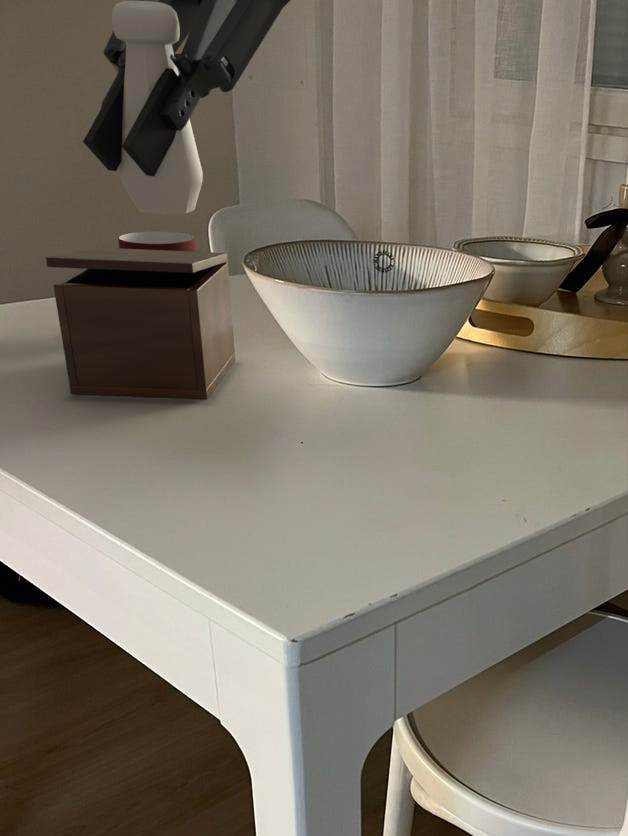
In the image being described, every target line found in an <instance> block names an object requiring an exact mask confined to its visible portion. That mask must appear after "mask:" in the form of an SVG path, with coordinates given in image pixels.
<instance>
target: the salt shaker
mask: <svg viewBox="0 0 628 836" xmlns="http://www.w3.org/2000/svg"><path fill="white" fill-rule="evenodd" d="M111 15H112V16H111V22H112V23H111V24H112V29H113V30H114V33H115V36H116V38H118V39H120V40H122V41H124V42H126V62H125V79H124V95H123V117H122V145H123V143H124V141H125V139H126V137H127V136H128V134H129V132H130V130H131V128H132V126H133V125H134V123H135V121H136V119H137V117H138V115H139V114H140V112H141V110H142V108H143V106H144V104H145V103H146V101H147V99H148V97H149V95H150V93H151V92H152V90H153V88H154V86H155V84H156V82H157V81H158V79H159V78H160V76H161V74H162V73H163V72H164V70H165V69H166V68H171V69H173V70H174V71H175V73H176V74H177V75H179V74H180V72H179V70H178V69H177V67H176V66H175V65H174V63H173V62H172V60H171V58H170V55H171V54H172V55H173V56H174V52H173V48H172V44H174V43H176V42H177V41H179V37H180V29H179V21H178V17H177V13H176V12H175V10H174V9H173V8H172V7H171V6H169V5H167V4H164V3H160V2H152V1H132V0H131V1H128V0H123V1H120V2H117V3H116V4H115V5H114V7H112V12H111ZM174 58H175V57H174ZM175 59H176V58H175ZM191 123H192V122H191V117H189V121H188V122H187V124H186V126H185V127H184V128H183V129H182V130H181V131H178V130H177V132H176V135H175V138H174V141H173V143H172V144H171V146H170V148H169V150H168V152H167V154H166V156H165V157H164V159H163V161H162V163H161V165H160V167H159V169H158V171H157V172H156V174H155V176H146V175H145V173H144V172H143V171H142V170H141V169H140V167H139V166H138V165H137V164H136V163H135V162H134V160H133V159H132V158H131V157H130V156H129V155H128V153H127V152H126V151H125V150H124V149H123V147H122V152H121V163H120V165H119V167H118V177H119V180H120V183H121V184H122V186H123V188H124V189H125V191H126V193H127V194H128V196H129V198H130V199H131V201H132V202H133V204H134V205H135V208H136V209H137V211H138V213H142V214H152V215H153V214H154V215H159V216H160V215H183V214H186V215H187V214H188V213H191V212H193V211H196V210H195V209H196V207H197V203H198V199H199V197H200V196H199V195H200V192H201V189H202V186H203V179H204V178H203V177H204V173H203V168H202V163H201V160H200V156H199V152H198V147H197V144H196V140H195V135H194V131H193V127H192V124H191Z"/></svg>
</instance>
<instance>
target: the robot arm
mask: <svg viewBox="0 0 628 836" xmlns="http://www.w3.org/2000/svg"><path fill="white" fill-rule="evenodd" d="M127 1H131V0H127ZM132 1H152V2H160V3H164V4H167V5H169V6H171V7H172V8H173V9H174V10H175V12H176V13H177V17H178V21H179V29H180V37H179V41H177V42H176V43H174V44H172V48H173V52H174V56H173V55H172V54H171V55H170V58H171V60H172V62H173V63H174V65H175V66H176V67H177V69H178V72H179V75H177V74H176V73H175V71H174V70H173V69H171V68H166V69H165V70H164V72H163V73H162V74H161V76H160V78H159V79H158V81H157V82H156V84H155V86H154V88H153V90H152V92H151V93H150V95H149V97H148V99H147V101H146V103H145V104H144V106H143V108H142V110H141V112H140V114H139V115H138V117H137V119H136V121H135V123H134V125H133V126H132V128H131V130H130V132H129V134H128V136H127V137H126V139H125V141H124V143H123V145H122V117H123V95H124V79H125V62H126V42H124V41H122V40H120V39H118V38H116V36H115V33H114V29H113V31H112V32H111V35H110V37H109V39H108V41H107V43H106V45H105V47H104V49H103V55H104V57H105V58H106V59H107V61H108V62H109V63H110V64H111V66H112V67H113V68H114V70H115V71H116V72H117V74H116V76H115V77H114V79H113V81H112V82H111V85H110V86H109V89H108V90H107V92H106V95H105V96H104V97H103V99H102V101H101V106H100V110H99V112H98V114H97V115H96V117H95V119H94V121H93V123H92V125H91V126H90V128H89V130H88V132H87V133H86V135H85V137H84V139H83V140H82V142H83V144H84V145H85V146H86V147H87V148H88V150H89V151H91V152H92V154H93V155H94V156H95V158H97V160H99V162H100V163H101V165H103V166H104V168H106V169H107V171H111V172H117V171H118V170H119V165H120V163H121V152H122V147H123V149H124V150H125V151H126V152H127V153H128V155H129V156H130V157H131V158H132V159H133V160H134V162H135V163H136V164H137V165H138V166H139V167H140V169H141V170H142V171H143V172H144V173H145V175H146V176H155V174H156V172H157V171H158V169H159V167H160V165H161V163H162V161H163V159H164V157H165V156H166V154H167V152H168V150H169V148H170V146H171V144H172V143H173V141H174V138H175V135H176V132H177V130H178V131H181V130H182V129H183V128H184V127H185V126H186V124H187V122H188V121H189V118H191V117H192V115H193V113H194V111H195V109H196V107H197V106H198V104H199V102H200V100H201V99H204V98H206V97H208V96H209V95H210V94H211V92H212V90H214V89H218V88H219V90H220V91H221V92H222V93H229V92H231V91H232V90H233V89H234V88H235V86H237V83H238V82H239V80H240V78H241V77H242V75H243V74H244V72H245V70H246V69H247V67H248V65H249V64H250V62H251V60H252V59H253V57H254V55H255V54H256V53H257V51H258V49H259V47H260V46H261V45H262V44H263V41H264V39H265V38H266V36H267V35H268V34H269V31H270V30H271V28H272V27H273V25H274V23H275V22H276V20H277V18H278V17H279V15H280V13H281V12H282V10H283V9H284V8H285V7H286V6H287V5H288V4H289V3H290V2H291V1H292V0H132ZM185 40H186V41H185ZM184 41H185V43H184ZM183 43H184V45H183V48H182V50H181V52H180V53H177V52H178V50H179V48H180V47H181V46H182V44H183ZM174 57H175V58H174ZM224 59H225V61H226V64H225V63H224V62H223V61H224Z"/></svg>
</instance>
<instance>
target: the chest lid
mask: <svg viewBox="0 0 628 836" xmlns="http://www.w3.org/2000/svg"><path fill="white" fill-rule="evenodd" d="M228 261H229V259H228V253H227V252H215V251H214V252H210V251H196V252H190V251H166V250H142V249H119V247H118V248H117V247H116V248H115V247H97V248H90V249H85V250H80V251H75V252H69V253H62V254H57V255H52V256H46V257H45V263H46V267H47V268H59V269H81V268H82V269H107V270H131V271H155V272H179V273H194V272H197V271H200V270H203V269H206V268H209V267H212V266H215V265H218V264H221V263H224V262H228Z"/></svg>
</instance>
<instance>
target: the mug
mask: <svg viewBox="0 0 628 836" xmlns="http://www.w3.org/2000/svg"><path fill="white" fill-rule="evenodd" d="M117 240H118V248H119V249H142V250H166V251H190V252H197V245H196V238H195V236H193V235H192V234H188V233H183V232H177V231H138V232H131V233H130V232H129V233H125V234H121V235H119V236H118V239H117Z"/></svg>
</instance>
